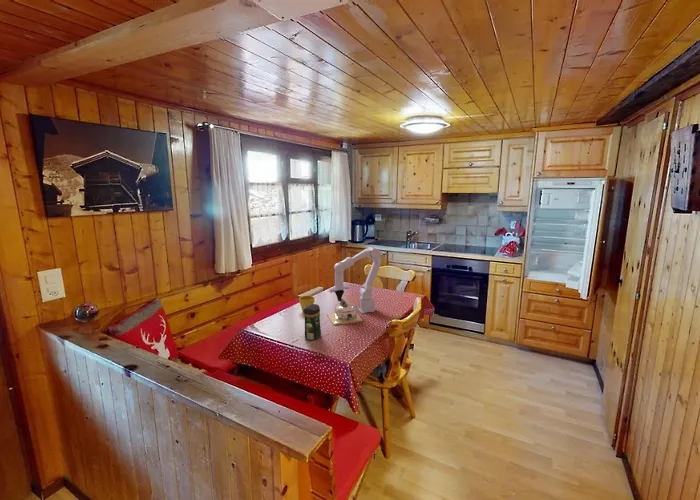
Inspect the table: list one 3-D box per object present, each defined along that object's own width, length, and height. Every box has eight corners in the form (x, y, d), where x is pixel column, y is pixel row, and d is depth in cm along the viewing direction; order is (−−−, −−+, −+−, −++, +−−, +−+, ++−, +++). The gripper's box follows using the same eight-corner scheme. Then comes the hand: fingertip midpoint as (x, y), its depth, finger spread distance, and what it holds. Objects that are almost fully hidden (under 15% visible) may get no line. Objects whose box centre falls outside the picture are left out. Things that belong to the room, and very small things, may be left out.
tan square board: (352, 309, 227) (352, 301, 226) (362, 321, 206) (362, 312, 205) (325, 312, 221) (325, 304, 220) (333, 325, 201) (333, 316, 199)
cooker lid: (360, 310, 207) (360, 306, 207) (337, 313, 203) (337, 309, 202) (351, 301, 224) (351, 297, 224) (330, 303, 220) (330, 299, 220)
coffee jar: (310, 332, 191) (309, 302, 188) (322, 334, 188) (321, 303, 185) (302, 339, 182) (300, 307, 179) (314, 341, 179) (313, 309, 176)
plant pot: (312, 314, 219) (311, 300, 217) (297, 313, 221) (296, 299, 219) (316, 309, 229) (316, 295, 227) (302, 308, 231) (302, 295, 229)
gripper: (344, 278, 224) (344, 297, 226) (326, 281, 215) (327, 301, 218) (350, 280, 218) (350, 299, 221) (332, 284, 210) (333, 304, 212)
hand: (339, 300), depth 219 cm, fingers closed, pressing on cooker lid
